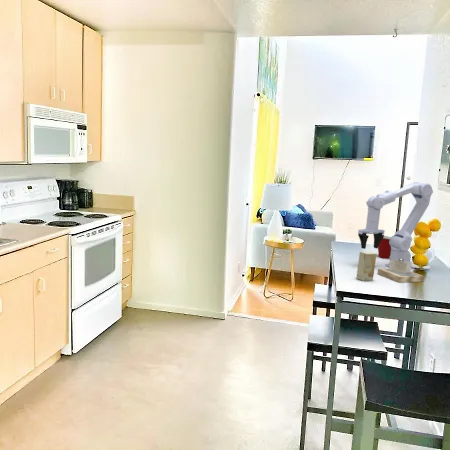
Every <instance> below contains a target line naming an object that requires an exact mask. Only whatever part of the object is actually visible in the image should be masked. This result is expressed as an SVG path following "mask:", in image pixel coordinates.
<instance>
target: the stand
mask: <svg viewBox="0 0 450 450" xmlns="http://www.w3.org/2000/svg"><path fill="white" fill-rule="evenodd" d="M376 274H377V275H379V276H381V277H384V278H386V279H389V280H391V281H394V282H397V283H400V284H401V283H417V282H419V283H420V282H424V278H425V276H424V275H422V274H420V273H416V272H413V271H411V272H410V273H409V274H402V273H398V272H394V271H390V270H389V268H377V272H376Z"/></svg>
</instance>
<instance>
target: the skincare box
mask: <svg viewBox="0 0 450 450" xmlns="http://www.w3.org/2000/svg"><path fill="white" fill-rule="evenodd" d="M376 260H377V253H375V252H372V251H359V256H358V263H357V269H356V270H357V271H356V277H355V278H356V279H357V280H360V281H363V282H367V281H368V282H370V281H374V276H375V270H376V269H375V267H376Z"/></svg>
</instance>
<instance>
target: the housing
mask: <svg viewBox="0 0 450 450" xmlns="http://www.w3.org/2000/svg"><path fill="white" fill-rule="evenodd" d="M389 262H390V267H389V266H388V267H389V268H388V269H389V270H390V271H394V272H398V273H402V274H409V273H410V272H412V271H411V270H412V261H410V262H407V261H404V259H401V258H399V259H392V260H390V259H389Z"/></svg>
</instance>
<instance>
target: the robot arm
mask: <svg viewBox="0 0 450 450" xmlns="http://www.w3.org/2000/svg"><path fill="white" fill-rule="evenodd" d="M433 193H434V190H433V187H432V185H431V184H429V183H426V182H425V183H424V182H418V181H417V182H416V181H415V182H412V183H409V184H408V185H406V186H403V187H400V188H398V189H395V190H394V191H392V190H388V189H386V190H385V191H384V192H383V193H378V194H376V196H370V197H369V198H368V199H367V201H366V203H365V204H366V206H367V215H366V216H367V217H366V224H365V228H363V229H358V231H357V236H358V238H359V242H360V246H361V249H364V250H366V247H367V242H368V239H369V235H373V248H374V249H377V250H378V246H379V244H380V242H381V240H382V239H383V237H384V236H385V232H386V231H385V230H384V229H379V226H380V225H379V223H380V216H381V209H382V208H383V207H384V206H386V205H388V204H392V203H394V202H395V201H396V199H397V198H400V197H403V196H406V195H409V194H411V195H412V197H413V198H414V199H415V200H414V201H416V202H415V205H414V206H413V208H412V209H411V211H410V213H409V215H408V217H407V218H406V220H405V222H404V223H403V225H402V227H401V228H400V229H399V230H397V231H396V232H395V233H394V234H393V235H392V236H390V237H391V238H390V240H389V244H390V246H391V255H390V258H389V263H385V267H386V266H387V267H390V260H392V259H399V258H401V259H404V261H407V262H411V257H412V255H411V252H410V251H409V249H410V247H411V243H412V241H413V238H412V234H413V232H414V231H415V229H416V228H417V226H418V224H419V222H420V221H421V219H422V217H423V216H424V214H425V212H426V211H427V209H428V207H429V206H430V203H431V197H432V195H433Z"/></svg>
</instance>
